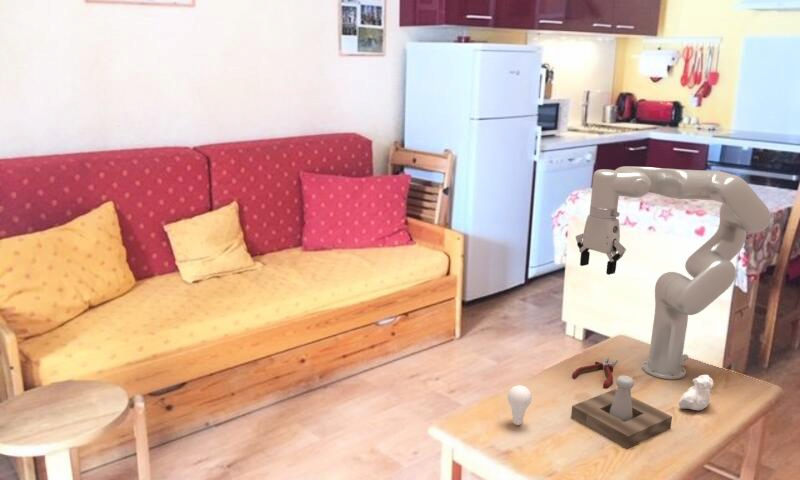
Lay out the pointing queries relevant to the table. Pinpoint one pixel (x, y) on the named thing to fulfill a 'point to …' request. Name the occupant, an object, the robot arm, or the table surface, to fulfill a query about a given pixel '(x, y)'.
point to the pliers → (597, 367)
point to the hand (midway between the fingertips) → (597, 269)
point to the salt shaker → (622, 399)
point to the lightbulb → (519, 402)
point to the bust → (697, 394)
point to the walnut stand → (623, 433)
